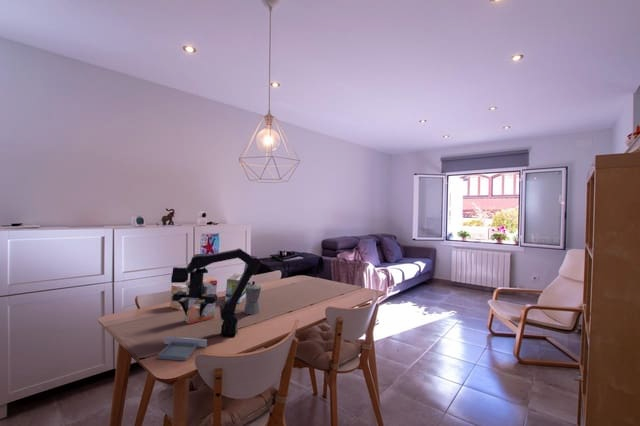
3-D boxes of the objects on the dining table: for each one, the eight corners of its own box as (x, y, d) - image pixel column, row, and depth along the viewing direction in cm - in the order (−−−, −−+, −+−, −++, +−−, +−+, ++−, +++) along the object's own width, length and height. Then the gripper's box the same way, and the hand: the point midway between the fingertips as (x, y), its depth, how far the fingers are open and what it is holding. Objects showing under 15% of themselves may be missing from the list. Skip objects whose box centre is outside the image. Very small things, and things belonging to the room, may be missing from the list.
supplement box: (169, 307, 169) (171, 284, 169) (176, 305, 173) (177, 283, 173) (180, 310, 166) (182, 287, 166) (187, 307, 170) (188, 285, 170)
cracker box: (189, 324, 148) (191, 283, 148) (183, 321, 153) (186, 280, 152) (215, 318, 159) (217, 279, 158) (209, 314, 163) (212, 277, 162)
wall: (206, 346, 129) (207, 339, 129) (205, 347, 128) (206, 340, 128) (165, 343, 129) (165, 336, 128) (164, 343, 128) (164, 337, 128)
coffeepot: (263, 314, 169) (265, 283, 168) (247, 317, 164) (249, 285, 163) (253, 306, 182) (255, 277, 181) (238, 307, 177) (240, 278, 176)
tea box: (240, 303, 184) (242, 280, 184) (224, 302, 184) (226, 278, 184) (246, 296, 199) (248, 274, 199) (232, 295, 199) (233, 273, 199)
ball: (202, 316, 138) (203, 304, 138) (197, 322, 132) (198, 308, 132) (189, 315, 138) (190, 303, 138) (184, 320, 132) (185, 307, 132)
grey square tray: (197, 347, 127) (197, 343, 127) (185, 360, 116) (185, 356, 116) (171, 345, 127) (171, 341, 127) (157, 358, 116) (157, 354, 116)
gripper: (222, 279, 143) (220, 311, 143) (184, 276, 143) (181, 308, 143) (214, 285, 132) (211, 320, 132) (172, 282, 132) (170, 316, 132)
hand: (193, 315), depth 135 cm, fingers closed on ball, 6 cm apart
